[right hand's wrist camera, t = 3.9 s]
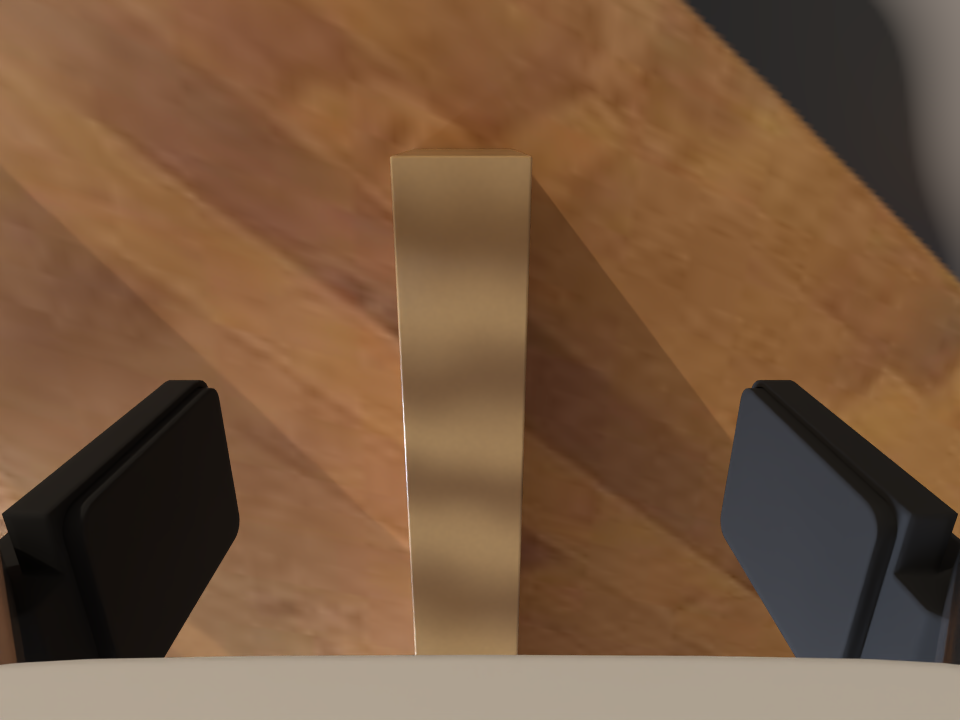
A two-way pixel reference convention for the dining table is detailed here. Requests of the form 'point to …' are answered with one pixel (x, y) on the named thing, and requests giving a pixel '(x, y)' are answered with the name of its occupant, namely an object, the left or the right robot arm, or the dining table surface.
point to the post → (463, 388)
